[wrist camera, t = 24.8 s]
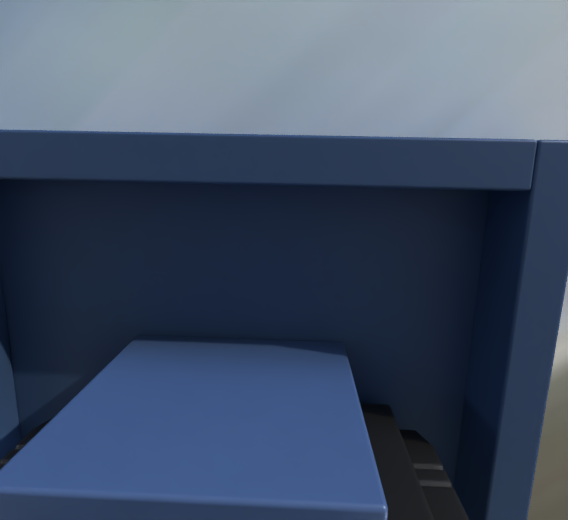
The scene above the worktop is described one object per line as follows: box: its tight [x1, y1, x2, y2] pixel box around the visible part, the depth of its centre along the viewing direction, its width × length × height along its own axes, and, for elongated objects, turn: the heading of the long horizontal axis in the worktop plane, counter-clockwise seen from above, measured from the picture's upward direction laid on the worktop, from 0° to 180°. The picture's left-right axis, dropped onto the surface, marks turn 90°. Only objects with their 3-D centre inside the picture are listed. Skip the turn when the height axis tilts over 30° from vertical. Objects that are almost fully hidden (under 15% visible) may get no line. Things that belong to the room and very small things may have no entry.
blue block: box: [0, 335, 388, 520], centre depth 7 cm, size 4×4×4 cm
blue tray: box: [0, 130, 568, 520], centre depth 9 cm, size 12×13×2 cm
